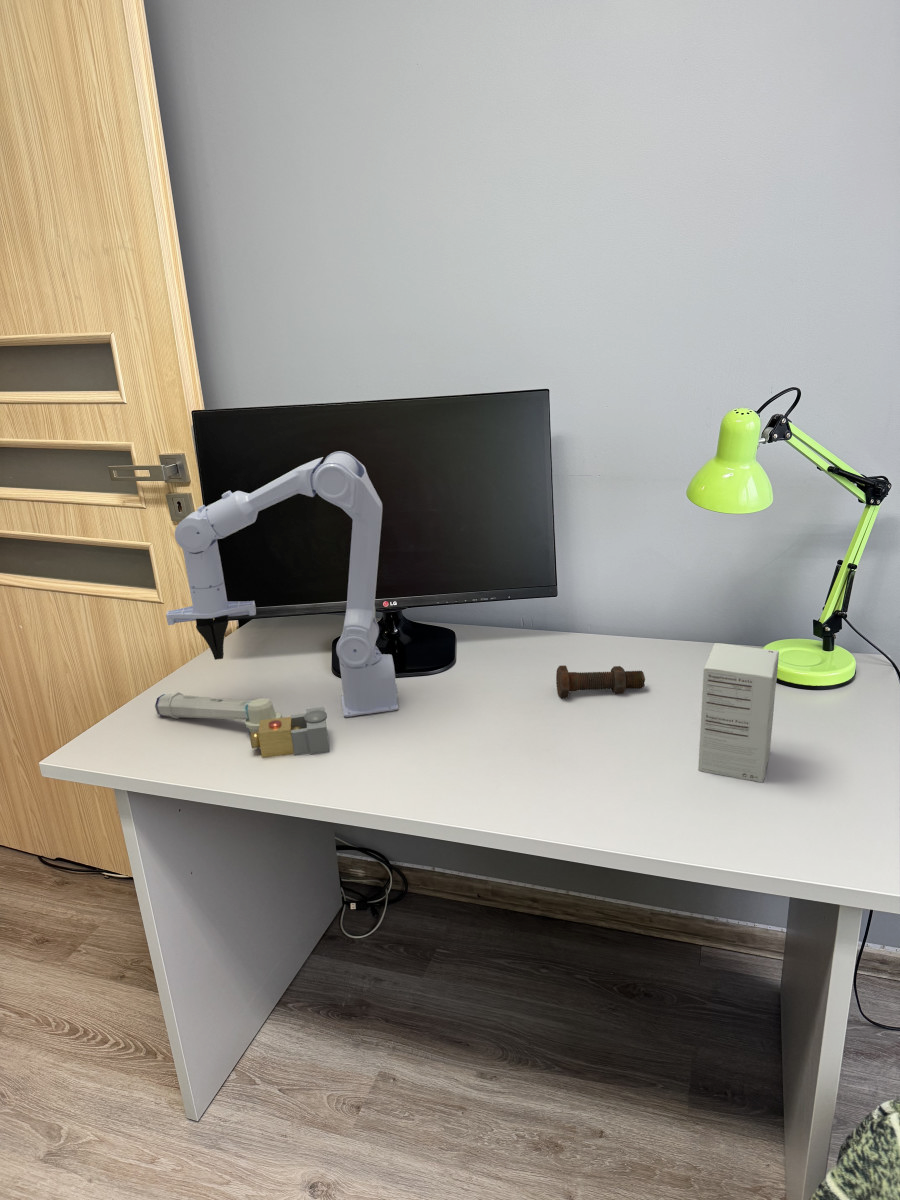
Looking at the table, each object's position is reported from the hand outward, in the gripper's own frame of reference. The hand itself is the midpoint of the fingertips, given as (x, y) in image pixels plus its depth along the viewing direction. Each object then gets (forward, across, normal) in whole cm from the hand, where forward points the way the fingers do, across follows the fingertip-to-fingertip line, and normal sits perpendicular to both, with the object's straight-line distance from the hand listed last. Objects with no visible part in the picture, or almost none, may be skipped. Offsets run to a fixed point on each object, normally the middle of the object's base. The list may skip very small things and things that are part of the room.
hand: (219, 657), depth 144 cm
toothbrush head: (+11, +1, +5) cm, 12 cm away
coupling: (+10, -14, +16) cm, 24 cm away
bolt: (+11, -65, +12) cm, 67 cm away
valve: (+10, -9, +16) cm, 21 cm away
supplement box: (+11, -76, +39) cm, 86 cm away
